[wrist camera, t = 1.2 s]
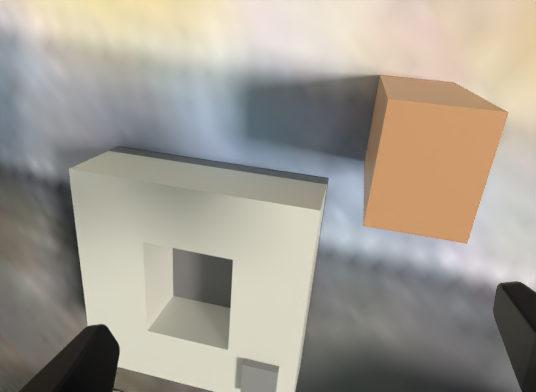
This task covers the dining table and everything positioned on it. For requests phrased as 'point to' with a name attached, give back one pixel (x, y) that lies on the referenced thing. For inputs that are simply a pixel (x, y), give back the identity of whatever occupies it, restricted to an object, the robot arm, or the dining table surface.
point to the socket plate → (199, 265)
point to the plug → (428, 157)
